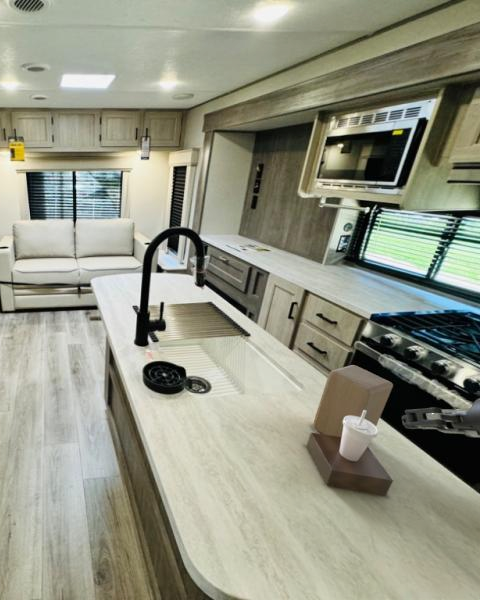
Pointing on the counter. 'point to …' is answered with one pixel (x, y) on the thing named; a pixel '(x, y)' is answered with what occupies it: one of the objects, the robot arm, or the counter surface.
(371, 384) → the wooden block
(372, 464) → the walnut block
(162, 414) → the counter surface
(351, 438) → the smoothie
